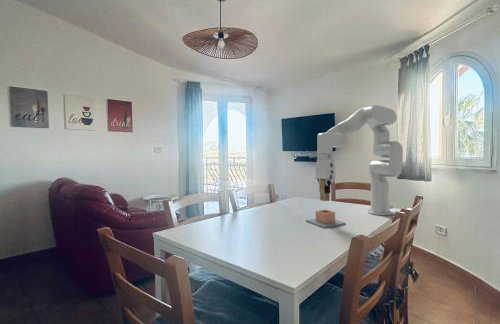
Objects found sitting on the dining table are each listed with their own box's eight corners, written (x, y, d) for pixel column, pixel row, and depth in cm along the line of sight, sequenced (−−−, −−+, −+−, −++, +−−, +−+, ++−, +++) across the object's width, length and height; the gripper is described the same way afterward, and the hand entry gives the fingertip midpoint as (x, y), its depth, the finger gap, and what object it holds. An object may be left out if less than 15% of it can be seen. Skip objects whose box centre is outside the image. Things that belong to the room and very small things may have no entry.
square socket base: (326, 218, 145) (326, 207, 145) (345, 224, 133) (345, 212, 133) (305, 221, 139) (305, 210, 139) (323, 228, 127) (323, 215, 127)
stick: (324, 199, 138) (324, 176, 137) (329, 200, 135) (329, 177, 134) (320, 200, 136) (320, 177, 136) (324, 201, 133) (324, 177, 133)
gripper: (342, 157, 129) (342, 194, 130) (320, 156, 144) (319, 190, 144) (330, 157, 126) (330, 195, 126) (308, 157, 141) (308, 191, 141)
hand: (324, 192), depth 135 cm, fingers closed on stick, 3 cm apart
